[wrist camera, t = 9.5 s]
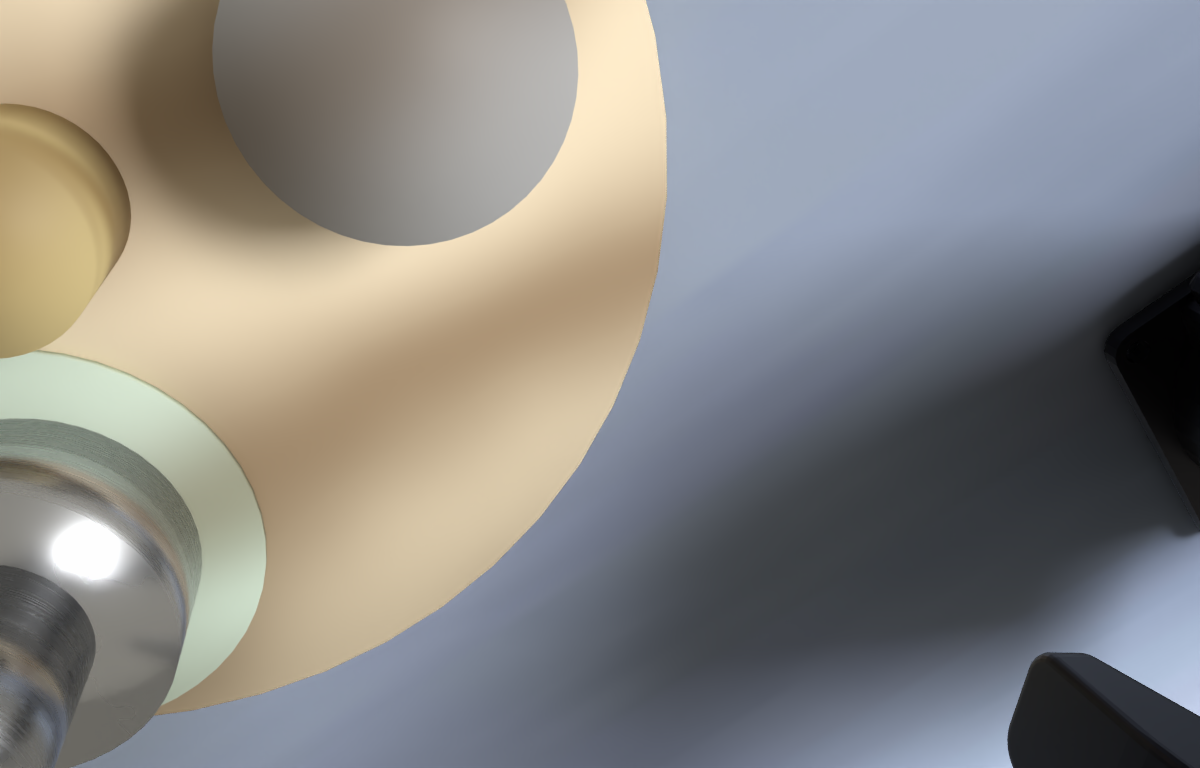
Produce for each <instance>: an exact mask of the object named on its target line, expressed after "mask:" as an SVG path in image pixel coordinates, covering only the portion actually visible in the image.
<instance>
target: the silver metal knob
mask: <svg viewBox="0 0 1200 768" xmlns="http://www.w3.org/2000/svg"><path fill="white" fill-rule="evenodd" d="M201 572H202V549H201V543H200V539H199V534H198V530H197V527H196V525H195V522H194V519H193V517H192V514H191V512H190V511H189V509H188V507H187V505H186V504H185V502H184V500H183V498H182V497H181V495H180V494H179V493H178V492H177V490H176V489H175V488H174V486H173V485H172V484H171V482H170V481H169V480H168V479H167V478H166V477H165V476H164V475H163V474H162V473H161V472H160V471H159V470H158V469H157V468H156V467H154V466H153V465H152V464H151V463H149V462H148V461H147V460H145V459H144V458H143V457H142V456H140V455H139V454H137V453H136V452H134V451H132V450H131V449H129V448H128V447H126V446H124V445H123V444H121V443H119V442H117V441H115V440H113V439H110V438H108V437H106V436H104V435H102V434H99V433H96V432H93V431H91V430H88V429H85V428H82V427H79V426H74V425H70V424H66V423H61V422H57V421H49V420H40V419H12V418H10V419H0V768H70V767H73V766H76V765H79V764H82V763H85V762H87V761H90V760H93V759H95V758H97V757H99V756H101V755H103V754H105V753H107V752H109V751H111V750H113V749H114V748H116V747H118V746H119V745H121V744H122V743H124V742H125V741H127V740H128V739H130V738H131V737H132V736H133V735H134V734H136V733H137V732H138V731H139V730H140V729H142V728H143V727H144V726H145V724H146V723H147V722H148V721H149V720H150V719H151V718H152V717H153V716H154V715H155V713H156V712H157V710H158V709H159V707H160V706H161V704H162V703H163V701H164V700H165V698H166V696H167V694H168V692H169V690H170V688H171V686H172V683H173V681H174V677H175V673H176V670H177V666H178V662H179V659H180V655H181V651H182V647H183V644H184V640H185V636H186V633H187V629H188V625H189V621H190V618H191V614H192V610H193V606H194V603H195V599H196V595H197V592H198V588H199V584H200V580H201Z"/></svg>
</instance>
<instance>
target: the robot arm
mask: <svg viewBox="0 0 1200 768" xmlns="http://www.w3.org/2000/svg"><path fill="white" fill-rule="evenodd" d="M1137 341H1138V342H1139V343H1138V345H1137V348H1136V349H1135V350H1134V351H1133V352H1132V353H1131V354H1129V355H1127V351H1128V349H1129V347H1130V346H1131V345H1132V344H1133V343H1135V342H1137ZM1104 352H1105V356H1106V359H1107V361H1108V363H1109V365H1110V367H1111V369H1112V370H1113V372H1114V374H1115V376H1116V378H1117V380H1118V382H1119V383H1120V385H1121V387H1122V389H1123V391H1124V393H1125V395H1126V396H1127V398H1128V400H1129V402H1130V404H1131V406H1132V408H1133V409H1134V411H1135V413H1136V415H1137V417H1138V419H1139V420H1140V422H1141V424H1142V426H1143V428H1144V430H1145V432H1146V433H1147V435H1148V437H1149V439H1150V441H1151V443H1152V445H1153V446H1154V448H1155V450H1156V452H1157V454H1158V456H1159V458H1160V459H1161V461H1162V463H1163V465H1164V467H1165V469H1166V471H1167V472H1168V474H1169V476H1170V478H1171V480H1172V482H1173V484H1174V485H1175V487H1176V489H1177V491H1178V493H1179V495H1180V497H1181V498H1182V500H1183V502H1184V504H1185V506H1186V508H1187V510H1188V511H1189V513H1190V515H1191V517H1192V519H1193V521H1194V523H1195V524H1196V526H1197V528H1198V529H1199V530H1200V271H1199V272H1197V273H1196V274H1194V275H1193V276H1191V277H1190V278H1188V279H1187V280H1186V281H1184V282H1183V283H1181V284H1180V285H1178V286H1177V287H1175V288H1174V289H1172V290H1171V291H1170V292H1168V293H1167V294H1165V295H1164V296H1162V297H1161V298H1159V299H1158V300H1156V301H1155V302H1154V303H1152V304H1151V305H1149V306H1148V307H1146V308H1145V309H1143V310H1142V311H1140V312H1139V313H1138V314H1136V315H1135V316H1133V317H1132V318H1130V319H1129V320H1127V321H1126V322H1124V323H1123V324H1122V325H1120V326H1119V327H1117V328H1116V329H1115V330H1114V331H1113V332H1112V333H1111V334H1110V336H1109V337H1108V339H1107V341H1106V343H1105V349H1104ZM1007 740H1008V751H1009V756H1010V760H1011V763H1012V766H1013V768H1200V716H1198V715H1196V714H1194V713H1193V712H1191V711H1189V710H1187V709H1186V708H1184V707H1182V706H1180V705H1178V704H1177V703H1175V702H1173V701H1171V700H1170V699H1168V698H1166V697H1164V696H1162V695H1161V694H1159V693H1157V692H1155V691H1154V690H1152V689H1150V688H1148V687H1146V686H1145V685H1143V684H1141V683H1139V682H1138V681H1136V680H1134V679H1132V678H1131V677H1129V676H1127V675H1125V674H1123V673H1122V672H1120V671H1118V670H1116V669H1115V668H1113V667H1111V666H1109V665H1107V664H1106V663H1104V662H1102V661H1100V660H1099V659H1097V658H1095V657H1093V656H1091V655H1088V654H1084V653H1049V652H1047V653H1044V654H1041V655H1039V656H1038V657H1036V658H1035V660H1034V661H1033V662H1032V663H1031V666H1030V668H1029V670H1028V673H1027V676H1026V679H1025V682H1024V685H1023V688H1022V691H1021V694H1020V697H1019V699H1018V702H1017V705H1016V708H1015V711H1014V714H1013V717H1012V720H1011V723H1010V726H1009V730H1008V739H1007Z"/></svg>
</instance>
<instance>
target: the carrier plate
mask: <svg viewBox="0 0 1200 768" xmlns="http://www.w3.org/2000/svg"><path fill="white" fill-rule="evenodd" d="M666 199H667V158H666V112H665V105H664V98H663V90H662V83H661V76H660V69H659V61H658V54H657V47H656V39H655V33H654V30H653V26H652V22H651V19H650V15H649V11H648V7H647V4H646V0H0V419H10V418H12V419H40V420H49V421H57V422H61V423H66V424H70V425H74V426H79V427H82V428H85V429H88V430H91V431H93V432H96V433H99V434H102V435H104V436H106V437H108V438H110V439H113V440H115V441H117V442H119V443H121V444H123V445H124V446H126V447H128V448H129V449H131V450H132V451H134V452H136V453H137V454H139V455H140V456H142V457H143V458H144V459H145V460H147V461H148V462H149V463H151V464H152V465H153V466H154V467H156V468H157V469H158V470H159V471H160V472H161V473H162V474H163V475H164V476H165V477H166V478H167V479H168V480H169V481H170V482H171V484H172V485H173V486H174V488H175V489H176V490H177V492H178V493H179V494H180V495H181V497H182V498H183V500H184V502H185V504H186V505H187V507H188V509H189V511H190V512H191V514H192V517H193V519H194V522H195V525H196V527H197V530H198V534H199V539H200V543H201V549H202V572H201V580H200V584H199V588H198V592H197V595H196V599H195V603H194V606H193V610H192V614H191V618H190V621H189V625H188V629H187V633H186V636H185V640H184V644H183V647H182V651H181V655H180V659H179V662H178V666H177V670H176V673H175V677H174V681H173V683H172V686H171V688H170V690H169V692H168V694H167V696H166V698H165V700H164V701H163V703H162V704H161V706H160V707H159V709H158V710H157V712H156V713H155V715H162V714H169V713H177V712H184V711H192V710H196V709H200V708H205V707H209V706H213V705H217V704H221V703H225V702H230V701H234V700H238V699H242V698H246V697H251V696H255V695H259V694H262V693H265V692H268V691H271V690H274V689H277V688H279V687H282V686H285V685H288V684H291V683H294V682H296V681H299V680H302V679H305V678H308V677H311V676H313V675H316V674H319V673H322V672H325V671H327V670H329V669H331V668H333V667H335V666H337V665H340V664H342V663H344V662H346V661H348V660H350V659H352V658H354V657H356V656H358V655H360V654H362V653H364V652H367V651H369V650H371V649H373V648H375V647H377V646H379V645H381V644H383V643H385V642H387V641H389V640H390V639H392V638H393V637H395V636H397V635H398V634H400V633H401V632H403V631H405V630H406V629H408V628H409V627H411V626H413V625H414V624H416V623H417V622H419V621H420V620H422V619H424V618H425V617H427V616H428V615H430V614H432V613H433V612H435V611H436V610H438V609H440V608H441V607H443V606H444V605H445V604H446V603H448V602H449V601H450V600H451V599H453V598H454V597H455V596H456V595H458V594H459V593H460V592H461V591H462V590H464V589H465V588H466V587H467V586H469V585H470V584H471V583H472V582H474V581H475V580H476V579H477V578H479V577H480V576H481V575H482V574H484V573H485V572H486V571H487V570H488V569H490V568H491V567H492V566H493V565H494V564H495V563H496V562H497V561H498V560H499V559H500V558H501V557H502V556H503V555H504V554H505V553H506V552H507V551H508V550H509V549H510V548H511V547H512V546H513V545H514V544H515V543H516V542H517V541H518V540H519V539H520V538H521V537H522V536H523V535H524V534H525V532H526V531H527V530H528V529H529V528H530V527H531V526H532V525H533V524H534V523H535V522H536V521H537V520H538V519H539V518H540V517H541V515H542V514H543V513H544V511H545V510H546V509H547V507H548V506H549V505H550V503H551V502H552V501H553V500H554V498H555V497H556V496H557V494H558V493H559V492H560V490H561V489H562V488H563V486H564V485H565V484H566V482H567V481H568V480H569V478H570V477H571V476H572V474H573V473H574V472H575V470H576V469H577V468H578V466H579V465H580V463H581V462H582V460H583V458H584V456H585V454H586V453H587V451H588V449H589V447H590V446H591V444H592V442H593V440H594V439H595V437H596V435H597V433H598V432H599V430H600V428H601V426H602V424H603V423H604V421H605V419H606V417H607V416H608V414H609V412H610V410H611V409H612V407H613V405H614V402H615V400H616V398H617V395H618V393H619V390H620V388H621V385H622V383H623V380H624V378H625V375H626V373H627V370H628V368H629V365H630V363H631V361H632V358H633V356H634V353H635V351H636V348H637V346H638V343H639V341H640V337H641V333H642V329H643V325H644V321H645V318H646V314H647V310H648V306H649V302H650V298H651V295H652V291H653V287H654V283H655V279H656V275H657V271H658V264H659V256H660V247H661V239H662V231H663V223H664V215H665V207H666Z"/></svg>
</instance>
